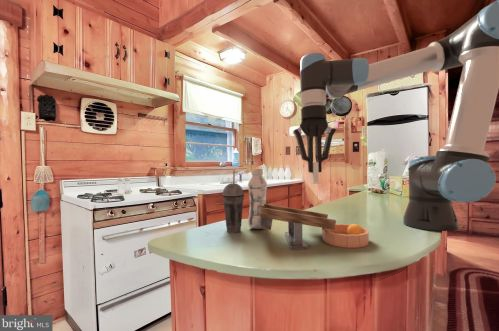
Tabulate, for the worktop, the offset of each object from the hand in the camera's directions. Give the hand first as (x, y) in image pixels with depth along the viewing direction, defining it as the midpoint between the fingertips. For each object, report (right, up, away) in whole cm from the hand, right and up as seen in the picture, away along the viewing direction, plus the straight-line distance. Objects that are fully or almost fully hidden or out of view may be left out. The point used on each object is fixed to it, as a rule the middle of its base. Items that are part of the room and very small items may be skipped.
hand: (315, 183), depth 78 cm
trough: (-8, -13, -4) cm, 15 cm away
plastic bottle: (-17, -16, +7) cm, 25 cm away
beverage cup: (-25, -16, +5) cm, 31 cm away
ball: (+9, -13, -7) cm, 17 cm away
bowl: (+6, -16, -7) cm, 18 cm away
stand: (-8, -16, -7) cm, 19 cm away
